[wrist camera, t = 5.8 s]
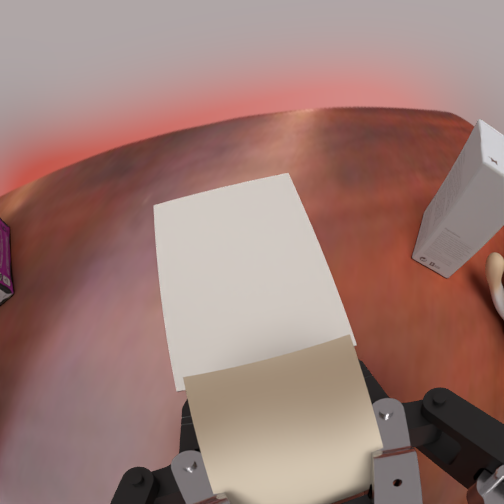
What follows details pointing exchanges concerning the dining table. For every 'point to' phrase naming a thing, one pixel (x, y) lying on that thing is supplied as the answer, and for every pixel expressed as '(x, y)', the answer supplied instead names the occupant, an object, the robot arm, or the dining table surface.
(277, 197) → the mat
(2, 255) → the candy bar box
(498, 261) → the kitten
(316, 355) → the birch block
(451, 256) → the skincare box
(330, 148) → the dining table surface
